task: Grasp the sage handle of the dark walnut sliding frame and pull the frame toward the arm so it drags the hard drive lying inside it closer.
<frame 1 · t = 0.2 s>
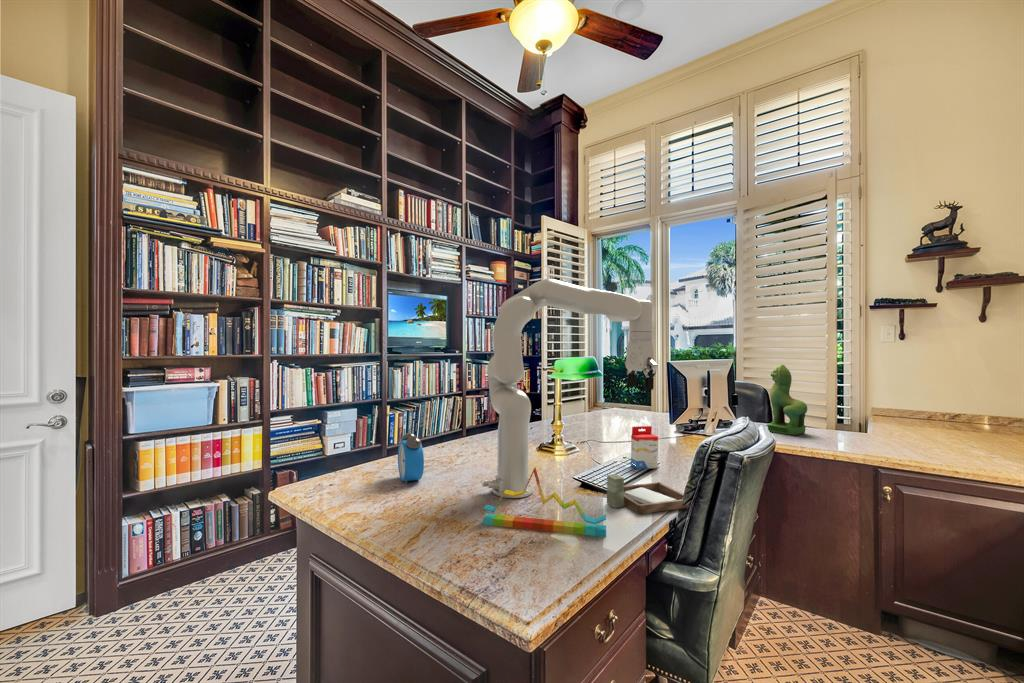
hand: (640, 388, 151), 31 cm above the table, tool pointing down, fingers open, 9 cm apart
sliding frame: (643, 487, 130), point 4 cm above the table, slide at 0.0 cm, touching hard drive
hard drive: (650, 501, 131), resting in sliding frame
chart: (543, 529, 112), on the table
lion statue: (786, 433, 230), on the table
alarm clock: (410, 480, 148), on the table
ink box: (644, 467, 166), on the table
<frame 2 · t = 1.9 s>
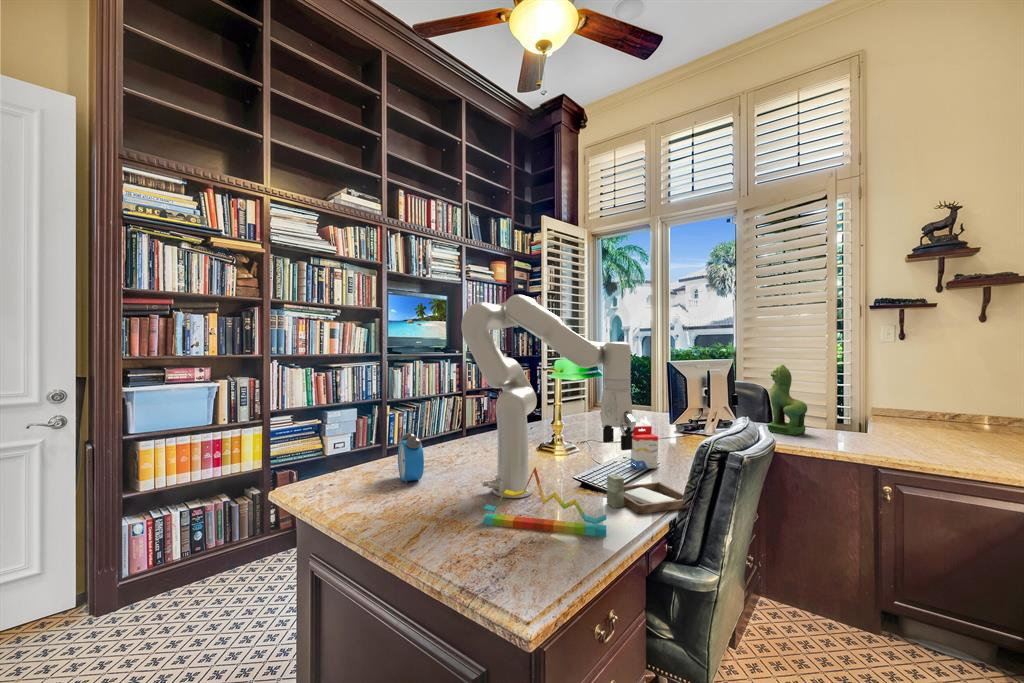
hand: (617, 445, 127), 17 cm above the table, tool pointing down, fingers open, 9 cm apart
nothing on the table moved.
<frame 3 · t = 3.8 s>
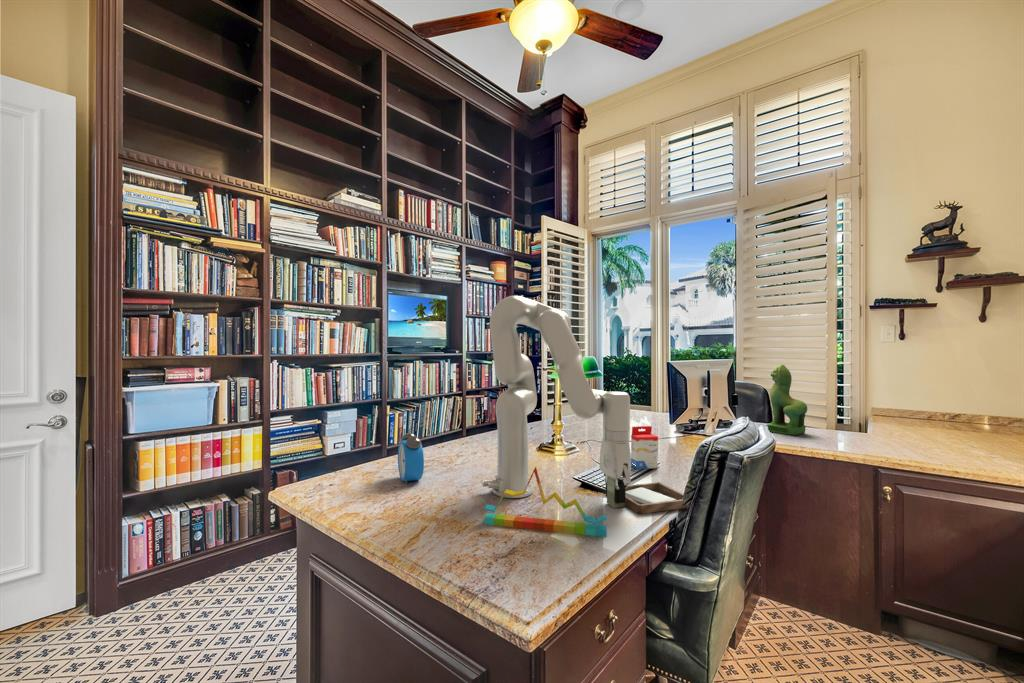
hand: (615, 499, 128), 2 cm above the table, tool pointing down, fingers closed on sliding frame, 4 cm apart
sliding frame: (643, 487, 130), point 4 cm above the table, slide at 0.0 cm, touching gripper, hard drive
everything else where it was.
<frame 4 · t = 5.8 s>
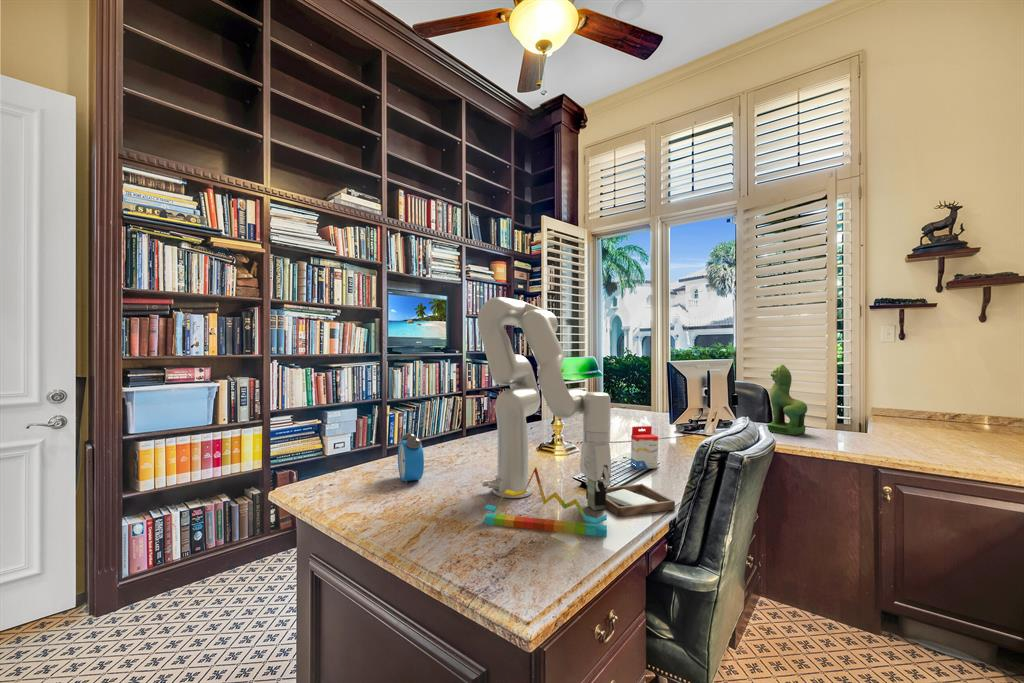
hand: (595, 501, 126), 2 cm above the table, tool pointing down, fingers closed on sliding frame, 4 cm apart
sliding frame: (625, 489, 128), point 4 cm above the table, slide at 6.2 cm, touching gripper, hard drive
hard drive: (631, 503, 129), resting in sliding frame
everything else where it was.
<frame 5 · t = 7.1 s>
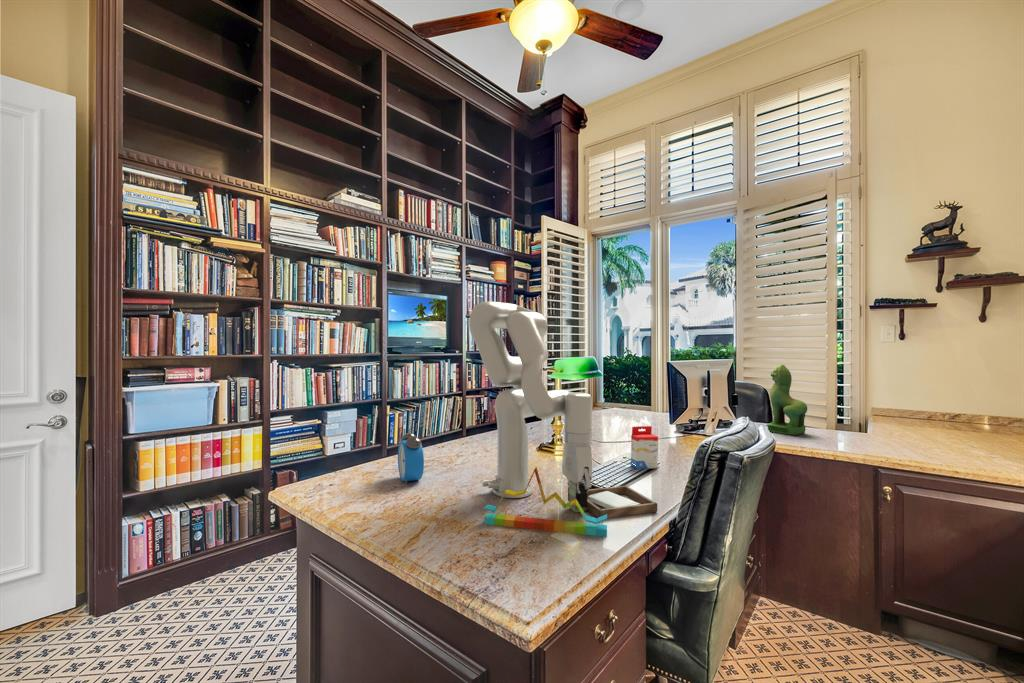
hand: (577, 503, 124), 2 cm above the table, tool pointing down, fingers closed on sliding frame, 4 cm apart
sliding frame: (607, 491, 127), point 4 cm above the table, slide at 11.9 cm, touching gripper, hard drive
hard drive: (613, 505, 127), resting in sliding frame
everything else where it was.
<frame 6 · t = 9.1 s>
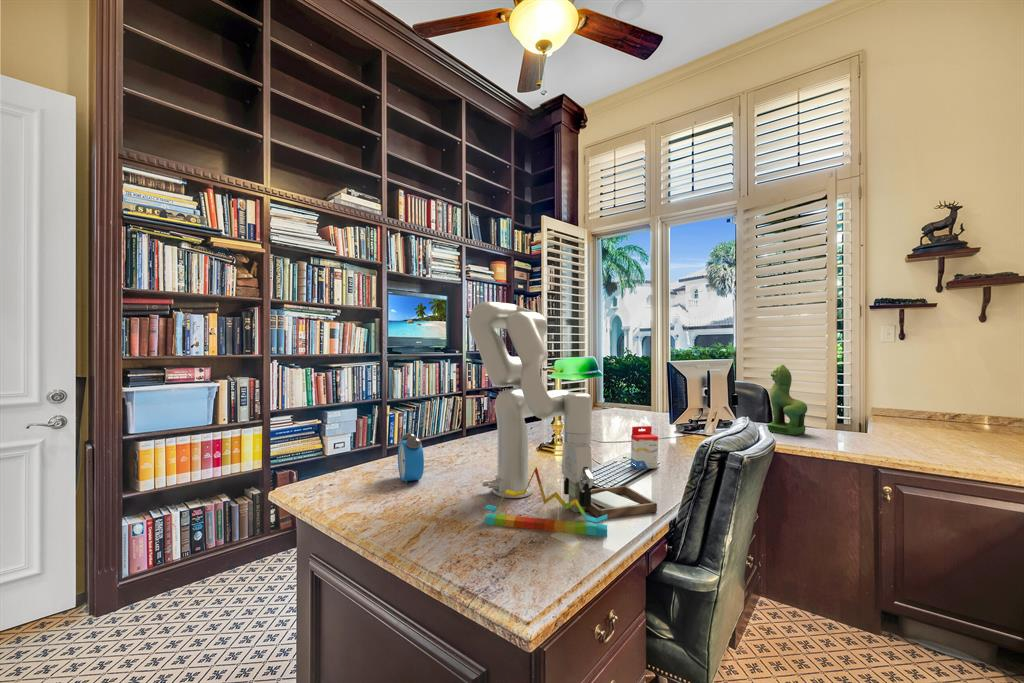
hand: (576, 499, 124), 3 cm above the table, tool pointing down, fingers open, 9 cm apart
sliding frame: (607, 491, 127), point 4 cm above the table, slide at 12.1 cm, touching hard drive
everything else where it was.
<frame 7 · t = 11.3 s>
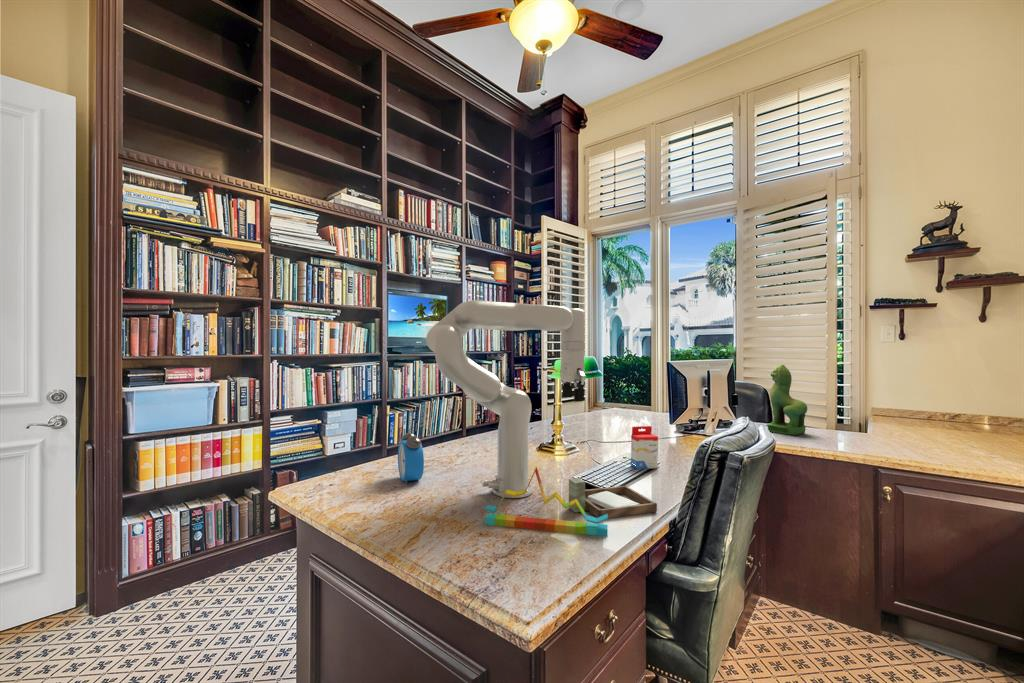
hand: (573, 399, 146), 27 cm above the table, tool pointing down, fingers open, 9 cm apart
nothing on the table moved.
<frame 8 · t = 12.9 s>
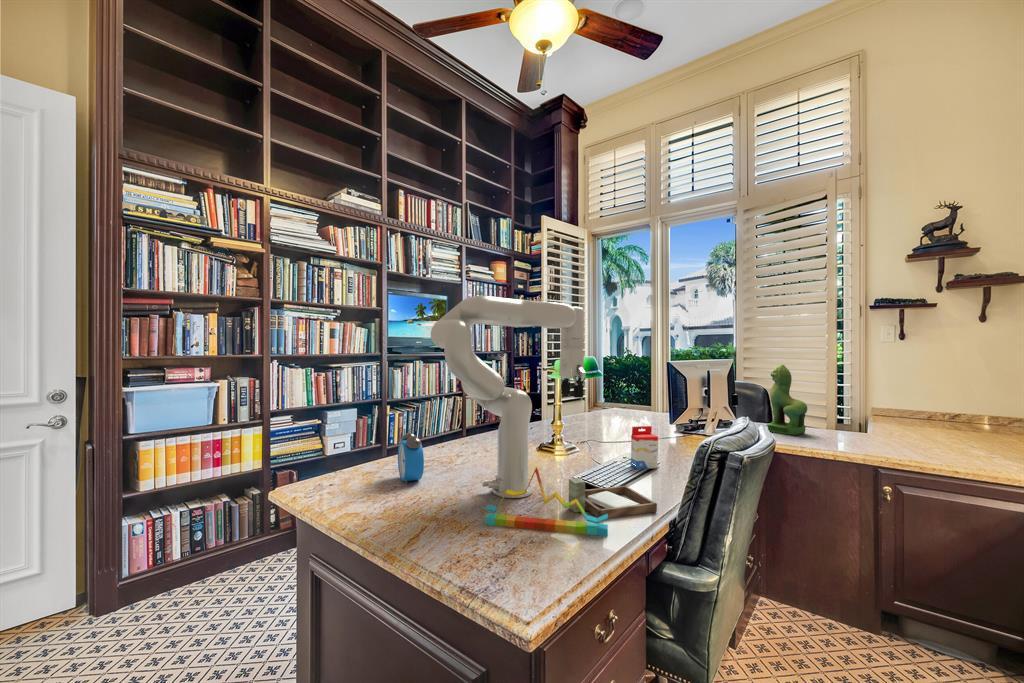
hand: (571, 395, 149), 28 cm above the table, tool pointing down, fingers open, 9 cm apart
nothing on the table moved.
at the end: sliding frame slide at 12.1 cm; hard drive moved 12.1 cm from its start; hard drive inside the target area on the sliding frame (0.0 cm from its centre), point 0.0 cm above the sliding frame's base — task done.
